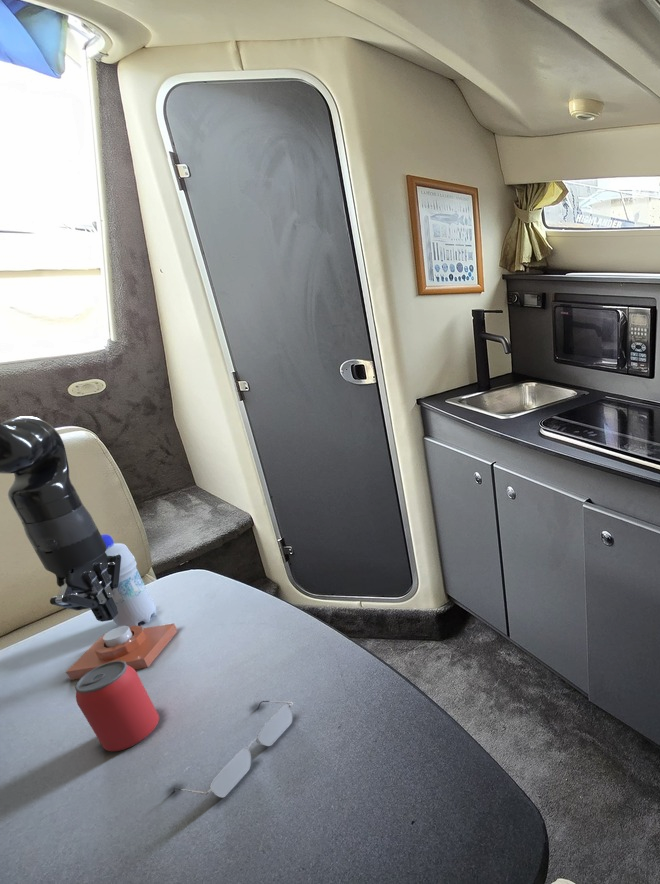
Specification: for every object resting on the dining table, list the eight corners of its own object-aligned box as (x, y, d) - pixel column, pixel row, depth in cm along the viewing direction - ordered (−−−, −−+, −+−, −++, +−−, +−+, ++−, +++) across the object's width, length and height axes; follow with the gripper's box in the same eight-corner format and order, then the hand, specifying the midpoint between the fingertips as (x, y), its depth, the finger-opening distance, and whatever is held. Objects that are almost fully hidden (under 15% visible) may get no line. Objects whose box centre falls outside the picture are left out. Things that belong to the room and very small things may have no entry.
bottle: (108, 630, 97) (63, 545, 90) (144, 607, 103) (105, 525, 96) (133, 635, 96) (89, 549, 88) (168, 611, 102) (130, 529, 94)
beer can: (104, 733, 76) (70, 675, 72) (159, 706, 80) (130, 650, 76) (104, 763, 72) (68, 703, 67) (162, 733, 76) (131, 674, 71)
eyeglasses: (216, 809, 65) (204, 788, 64) (172, 798, 67) (159, 778, 66) (300, 716, 77) (291, 697, 76) (260, 709, 80) (251, 691, 78)
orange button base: (71, 681, 86) (60, 664, 84) (108, 643, 94) (99, 626, 93) (148, 668, 88) (140, 651, 86) (178, 632, 96) (170, 615, 95)
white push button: (101, 649, 88) (97, 641, 87) (115, 634, 91) (111, 627, 90) (124, 645, 88) (120, 638, 88) (137, 631, 92) (134, 624, 91)
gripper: (70, 518, 87) (112, 597, 93) (2, 563, 75) (54, 650, 81) (119, 512, 88) (156, 590, 95) (59, 555, 76) (106, 641, 82)
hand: (109, 618), depth 88 cm, fingers closed
